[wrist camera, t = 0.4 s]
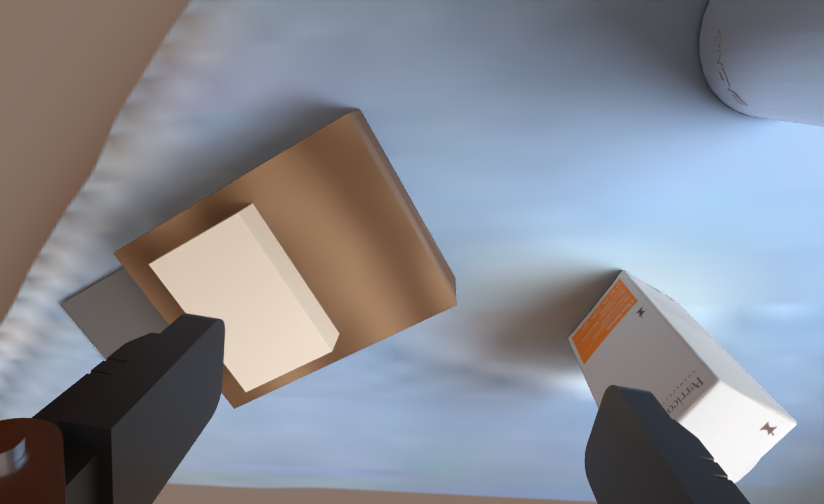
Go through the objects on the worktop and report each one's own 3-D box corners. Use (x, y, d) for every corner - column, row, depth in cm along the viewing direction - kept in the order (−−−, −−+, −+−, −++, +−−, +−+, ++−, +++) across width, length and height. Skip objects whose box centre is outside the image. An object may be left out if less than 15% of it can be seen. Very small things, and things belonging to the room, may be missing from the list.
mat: (156, 248, 32) (152, 250, 32) (243, 365, 35) (241, 368, 35) (64, 302, 34) (59, 304, 34) (153, 409, 37) (150, 412, 36)
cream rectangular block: (252, 203, 27) (238, 212, 25) (339, 333, 29) (332, 351, 27) (168, 251, 28) (148, 264, 26) (258, 372, 30) (245, 392, 28)
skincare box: (620, 266, 31) (722, 376, 19) (675, 298, 31) (805, 424, 20) (563, 339, 33) (624, 477, 21) (615, 368, 33) (702, 518, 22)
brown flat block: (359, 109, 28) (346, 113, 25) (455, 277, 32) (456, 305, 28) (152, 232, 32) (113, 252, 28) (256, 373, 35) (234, 408, 31)
